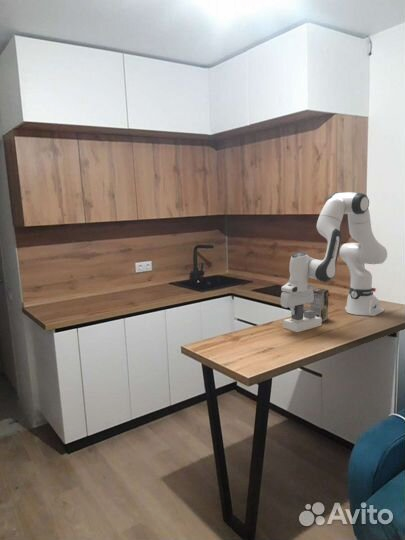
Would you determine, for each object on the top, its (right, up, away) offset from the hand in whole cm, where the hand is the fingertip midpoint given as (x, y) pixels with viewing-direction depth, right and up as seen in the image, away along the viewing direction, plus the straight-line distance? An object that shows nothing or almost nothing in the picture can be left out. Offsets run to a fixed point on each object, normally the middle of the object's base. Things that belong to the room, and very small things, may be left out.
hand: (297, 313), depth 203 cm
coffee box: (+15, -5, +15) cm, 22 cm away
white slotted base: (+3, -7, +4) cm, 9 cm away
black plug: (0, -3, 0) cm, 3 cm away
